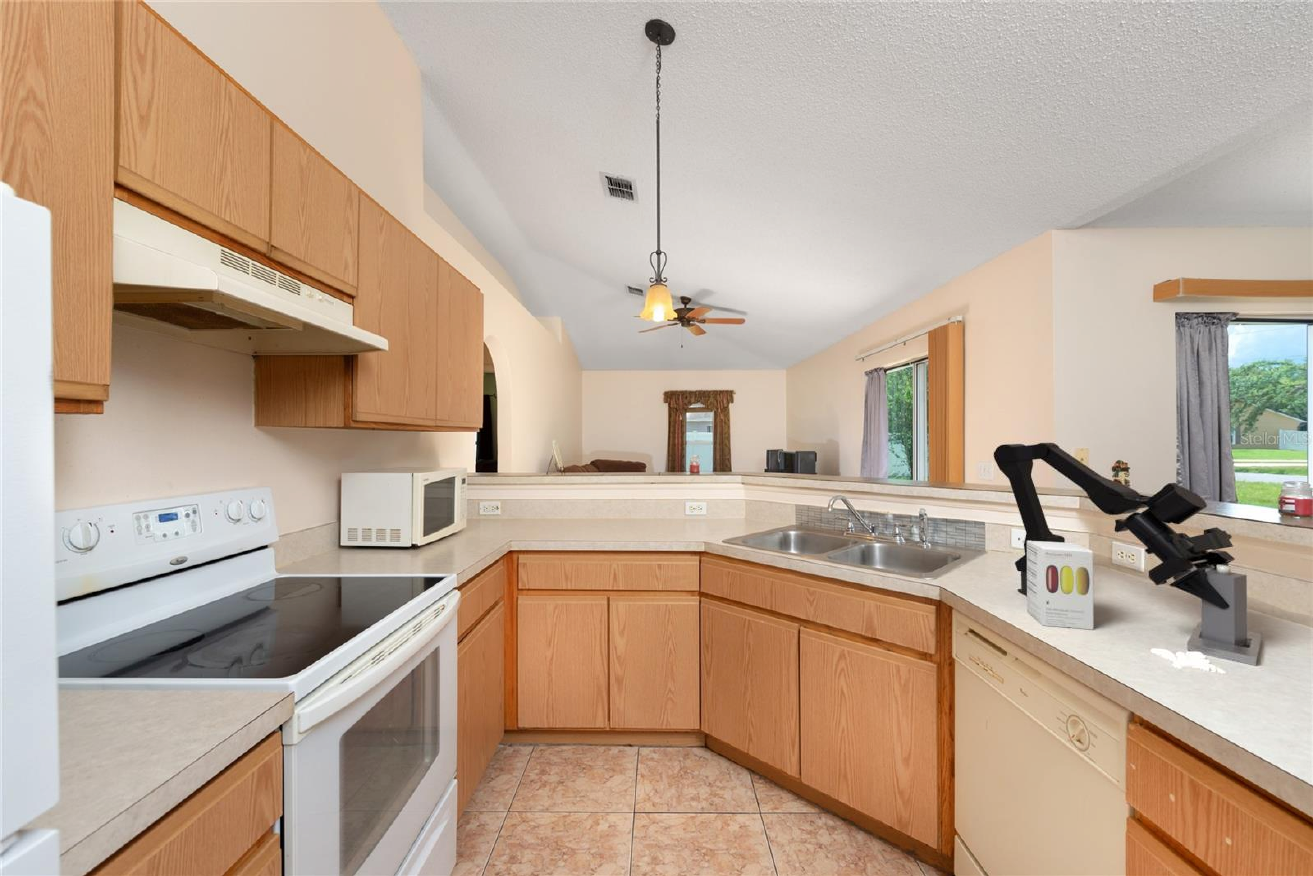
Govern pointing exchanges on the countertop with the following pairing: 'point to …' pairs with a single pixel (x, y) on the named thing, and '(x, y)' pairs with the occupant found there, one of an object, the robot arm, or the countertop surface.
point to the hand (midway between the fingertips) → (1233, 606)
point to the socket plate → (1226, 647)
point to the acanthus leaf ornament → (1188, 660)
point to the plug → (1231, 620)
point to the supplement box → (1060, 584)
